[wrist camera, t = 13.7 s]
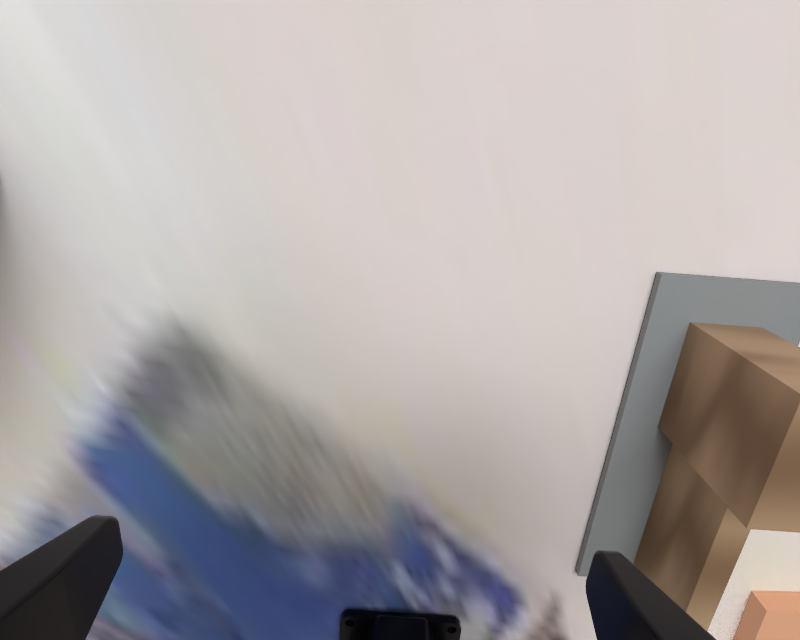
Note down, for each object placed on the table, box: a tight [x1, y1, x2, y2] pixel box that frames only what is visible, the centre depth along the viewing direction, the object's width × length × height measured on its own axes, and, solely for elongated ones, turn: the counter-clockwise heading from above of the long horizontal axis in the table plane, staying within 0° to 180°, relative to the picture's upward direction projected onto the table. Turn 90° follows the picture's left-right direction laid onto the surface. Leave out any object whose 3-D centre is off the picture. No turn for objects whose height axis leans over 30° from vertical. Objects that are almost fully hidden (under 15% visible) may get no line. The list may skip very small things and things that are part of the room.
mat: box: [576, 272, 800, 576], centre depth 22 cm, size 16×6×1 cm, turn 176°
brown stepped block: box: [633, 322, 800, 631], centre depth 19 cm, size 13×3×6 cm, turn 176°
